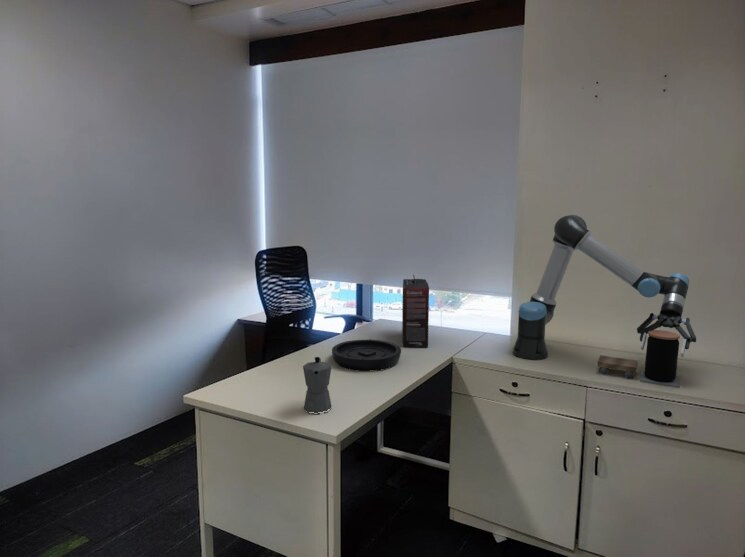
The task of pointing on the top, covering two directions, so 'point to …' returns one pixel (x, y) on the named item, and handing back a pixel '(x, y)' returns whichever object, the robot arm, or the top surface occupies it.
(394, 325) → the top surface
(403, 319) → the headset box
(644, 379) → the pad
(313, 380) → the coffeepot
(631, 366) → the brown toy cart
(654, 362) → the coffee jar
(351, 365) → the round tray
